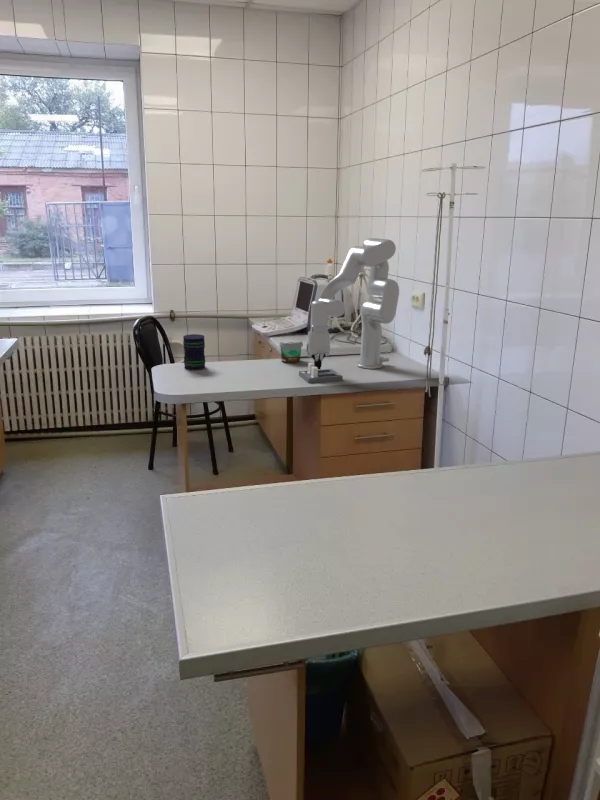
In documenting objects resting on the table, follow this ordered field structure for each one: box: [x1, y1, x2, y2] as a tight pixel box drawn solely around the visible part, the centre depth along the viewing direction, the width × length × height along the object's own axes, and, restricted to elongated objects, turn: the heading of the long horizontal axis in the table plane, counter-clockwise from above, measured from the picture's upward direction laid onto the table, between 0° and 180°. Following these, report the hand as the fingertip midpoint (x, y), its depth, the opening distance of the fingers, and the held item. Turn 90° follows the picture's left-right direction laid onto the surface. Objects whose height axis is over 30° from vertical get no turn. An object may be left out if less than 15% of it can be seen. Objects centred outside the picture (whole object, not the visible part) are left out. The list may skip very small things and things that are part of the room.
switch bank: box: [298, 368, 343, 384], centre depth 278 cm, size 16×13×2 cm
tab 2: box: [311, 367, 319, 378], centre depth 273 cm, size 3×3×5 cm
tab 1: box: [307, 362, 314, 374], centre depth 279 cm, size 3×3×5 cm
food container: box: [278, 340, 304, 364], centre depth 303 cm, size 12×6×10 cm, turn 117°
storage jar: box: [182, 333, 206, 371], centre depth 289 cm, size 10×10×15 cm
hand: (317, 368), depth 280 cm, fingers closed
